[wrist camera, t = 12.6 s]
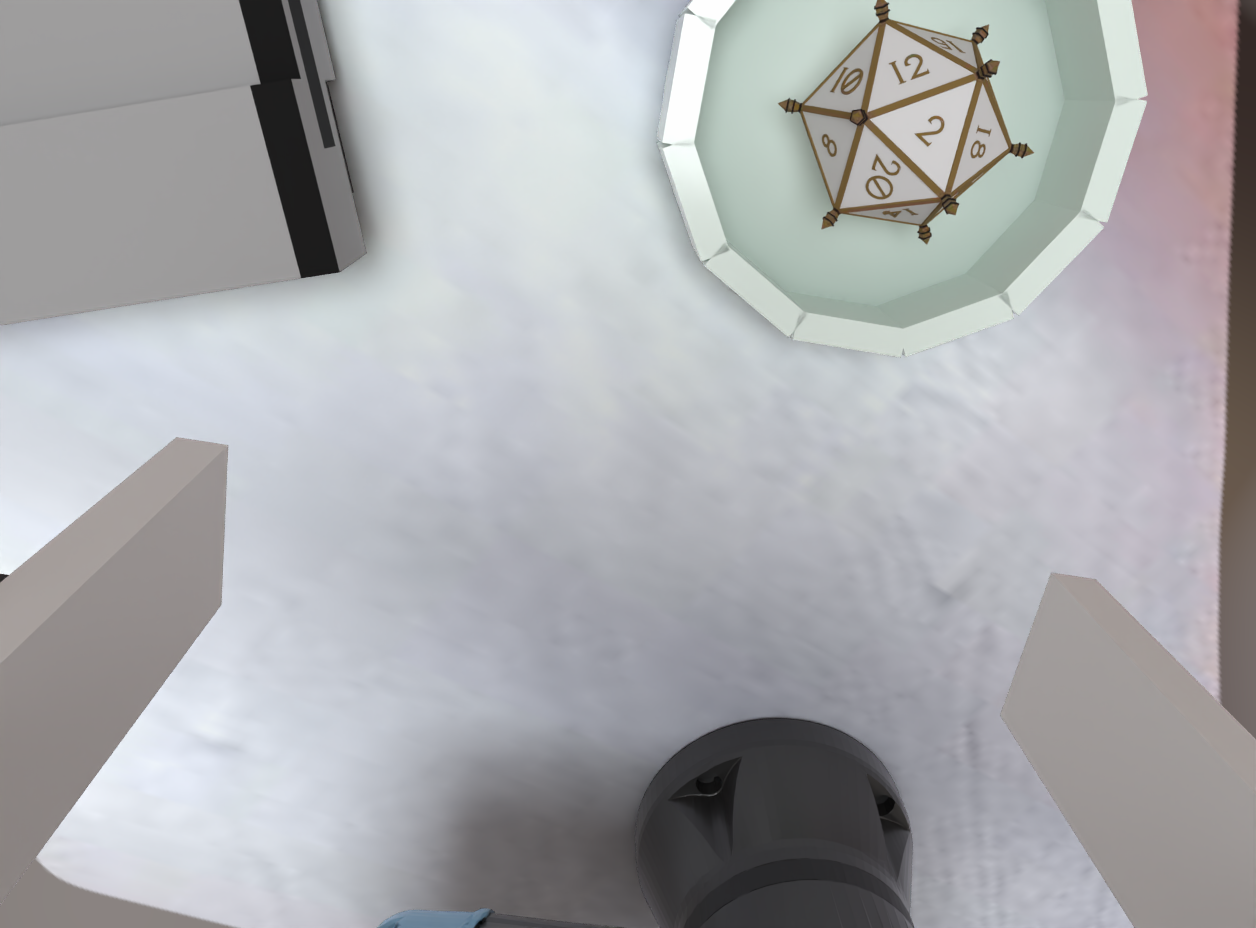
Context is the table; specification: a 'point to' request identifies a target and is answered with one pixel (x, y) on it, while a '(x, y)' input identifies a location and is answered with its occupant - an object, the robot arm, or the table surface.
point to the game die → (905, 124)
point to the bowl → (883, 250)
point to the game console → (165, 152)
